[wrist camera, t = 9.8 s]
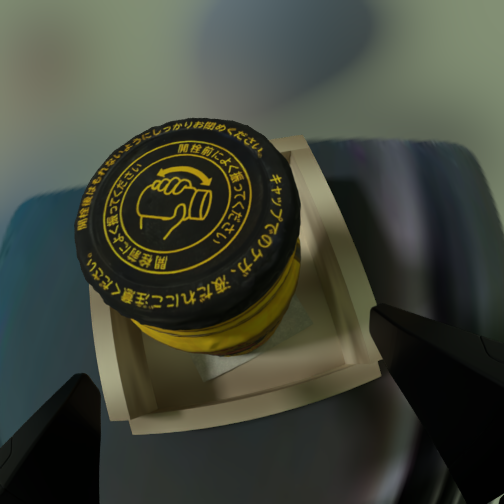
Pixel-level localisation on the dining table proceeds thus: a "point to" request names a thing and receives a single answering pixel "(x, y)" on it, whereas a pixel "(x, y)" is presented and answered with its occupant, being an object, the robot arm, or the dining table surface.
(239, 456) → the dining table surface
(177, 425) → the tan square tray
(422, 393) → the robot arm
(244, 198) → the condiment
